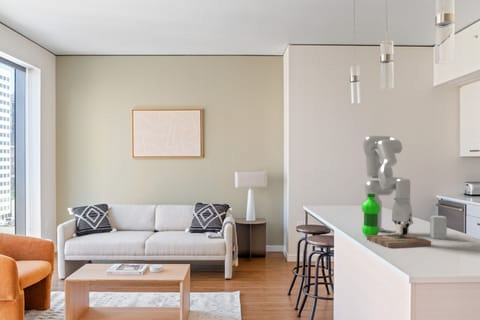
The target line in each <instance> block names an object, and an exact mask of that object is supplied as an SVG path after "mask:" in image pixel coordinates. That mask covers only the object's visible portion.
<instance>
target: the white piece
mask: <svg viewBox="0 0 480 320" xmlns="http://www.w3.org/2000/svg"><path fill="white" fill-rule="evenodd" d="M403 227H404V223H401V224H395V232H391V233H389V235H394V234H400V237H404V235H403ZM409 228H410V226H409V227H408V233H407V234H409V230H410V229H409Z"/></svg>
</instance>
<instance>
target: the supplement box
mask: <svg viewBox="0 0 480 320" xmlns="http://www.w3.org/2000/svg"><path fill="white" fill-rule="evenodd" d="M429 217H430V220H429V225H430V226H429V236H430V238H432V239H436V240H447V238H448V236H447V232H448V231H447V230H448V229H447V228H448V227H447V226H448V224H447V223H448V217H446V216H444V215H430V216H429Z"/></svg>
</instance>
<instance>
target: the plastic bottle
mask: <svg viewBox="0 0 480 320" xmlns="http://www.w3.org/2000/svg"><path fill="white" fill-rule="evenodd" d="M367 197H368V200H367V201H366V200H365V202H363V203H362V205H361V211H362V212H363V225H362V227H361V230H362V233H363V235H364V236H365V237H367V235H379V233H380V232H379V228H378V226H377V224H378V213H379V212H380V206H379V204H378V203H377V202H376V201H375V200H374V197H375V194H370V193H369V194H368V196H367Z"/></svg>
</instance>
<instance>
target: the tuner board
mask: <svg viewBox="0 0 480 320" xmlns="http://www.w3.org/2000/svg"><path fill="white" fill-rule="evenodd" d="M366 240H367V241H368V240H369V242H371V241H372V243H374V244H376V243H377V244H376V245H379V244H380V245H379V246H382V245H383V246H382V247H385V248H387V247H388V249H390V247H395V248H409V247H410V248H411V247H413V248H414V247H430V246H432V241H431V240H429V239H426V238H423V237H418V236H416V235H412V234H409V233H407V235H404V237H400V234H394V235H390V234H377V235H367V236H366Z"/></svg>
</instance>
